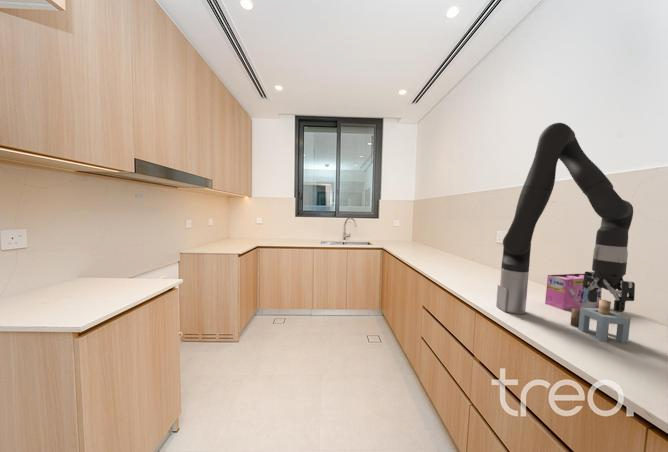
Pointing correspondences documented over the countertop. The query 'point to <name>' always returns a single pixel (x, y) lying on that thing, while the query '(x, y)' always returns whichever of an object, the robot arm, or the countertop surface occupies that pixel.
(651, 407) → the countertop surface
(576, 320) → the short pin
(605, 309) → the long pin
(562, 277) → the gum box
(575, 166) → the robot arm
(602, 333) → the square frame
